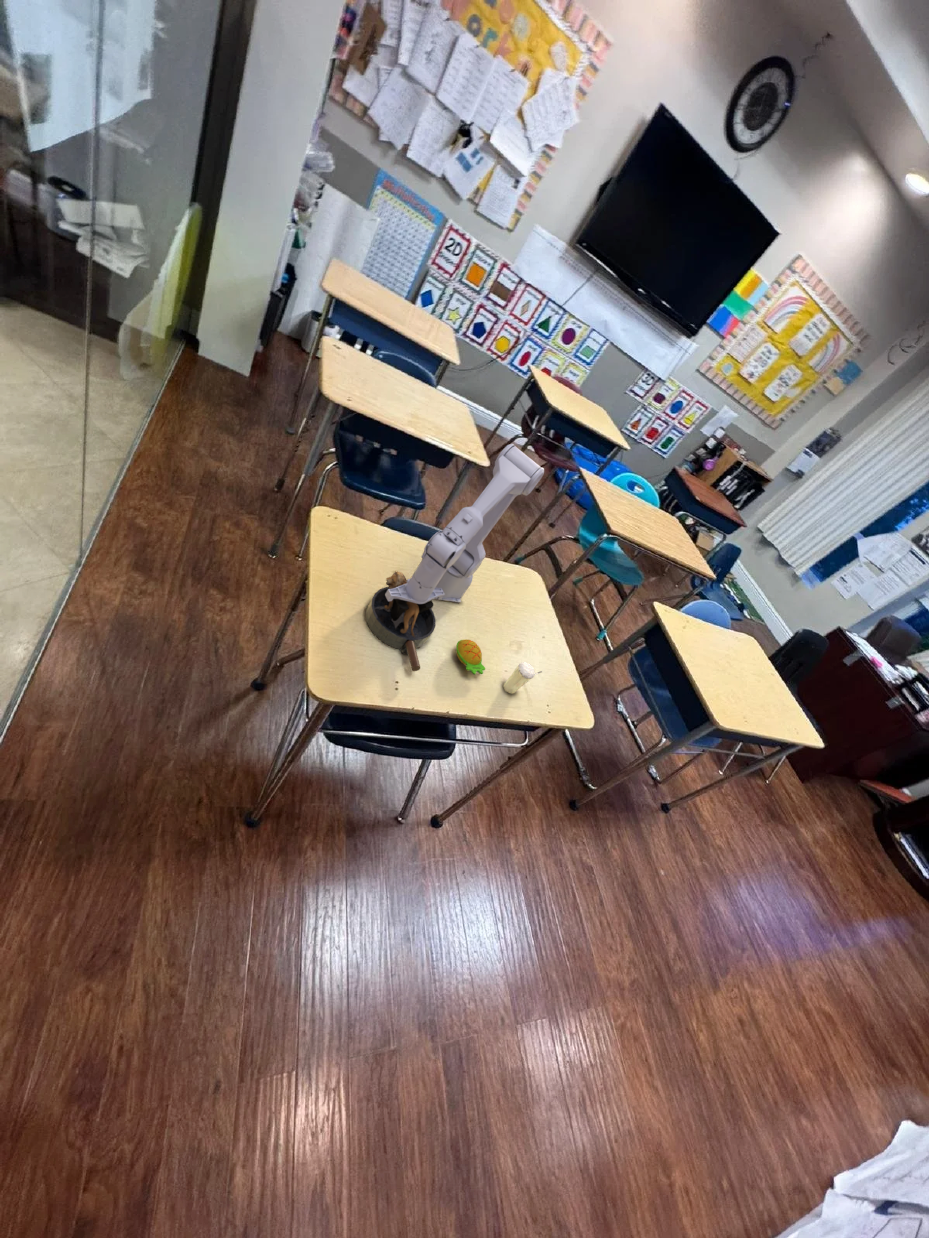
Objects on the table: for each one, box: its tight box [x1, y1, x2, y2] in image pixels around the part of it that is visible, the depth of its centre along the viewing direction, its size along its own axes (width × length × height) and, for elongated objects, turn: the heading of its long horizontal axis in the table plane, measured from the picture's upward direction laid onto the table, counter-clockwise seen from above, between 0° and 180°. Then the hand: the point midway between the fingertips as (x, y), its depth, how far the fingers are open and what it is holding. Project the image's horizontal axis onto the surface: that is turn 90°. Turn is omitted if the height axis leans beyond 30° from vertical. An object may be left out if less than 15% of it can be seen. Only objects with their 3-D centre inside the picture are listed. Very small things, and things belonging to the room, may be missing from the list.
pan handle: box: [400, 641, 421, 672], centre depth 115 cm, size 7×2×4 cm, turn 17°
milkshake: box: [503, 661, 543, 695], centre depth 124 cm, size 4×5×10 cm
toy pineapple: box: [455, 638, 486, 675], centre depth 124 cm, size 7×10×5 cm
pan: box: [365, 586, 437, 650], centre depth 122 cm, size 16×16×4 cm
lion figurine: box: [385, 570, 419, 637], centre depth 120 cm, size 15×5×9 cm, turn 41°
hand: (401, 617), depth 122 cm, fingers closed on lion figurine, 4 cm apart
